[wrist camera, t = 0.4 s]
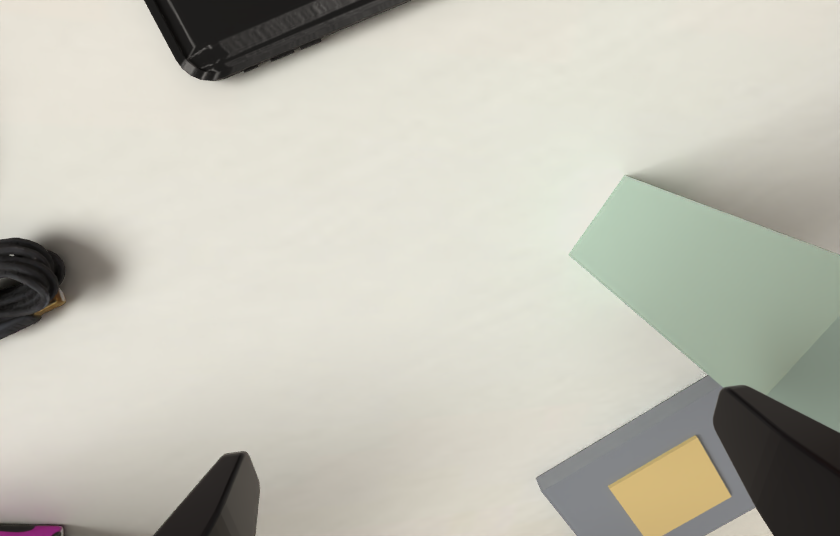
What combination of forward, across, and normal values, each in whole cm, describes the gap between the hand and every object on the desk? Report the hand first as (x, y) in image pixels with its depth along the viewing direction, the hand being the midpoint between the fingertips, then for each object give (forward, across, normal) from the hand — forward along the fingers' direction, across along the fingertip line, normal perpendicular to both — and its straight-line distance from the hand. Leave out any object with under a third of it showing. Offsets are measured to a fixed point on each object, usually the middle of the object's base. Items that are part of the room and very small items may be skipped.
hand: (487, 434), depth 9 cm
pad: (+12, -12, +19) cm, 26 cm away
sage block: (+14, -10, +4) cm, 18 cm away
